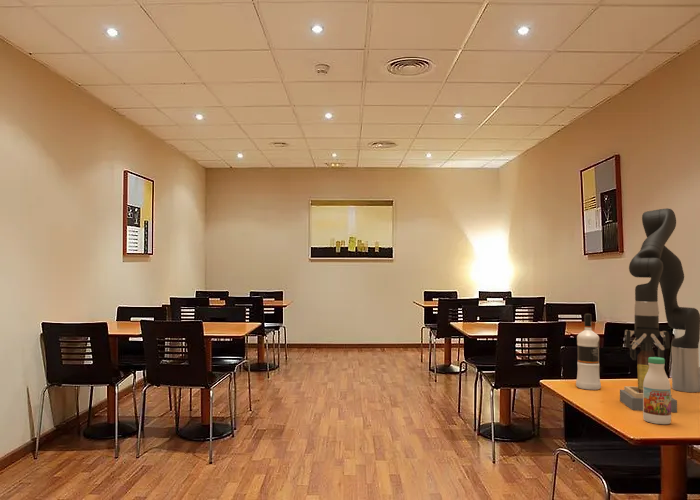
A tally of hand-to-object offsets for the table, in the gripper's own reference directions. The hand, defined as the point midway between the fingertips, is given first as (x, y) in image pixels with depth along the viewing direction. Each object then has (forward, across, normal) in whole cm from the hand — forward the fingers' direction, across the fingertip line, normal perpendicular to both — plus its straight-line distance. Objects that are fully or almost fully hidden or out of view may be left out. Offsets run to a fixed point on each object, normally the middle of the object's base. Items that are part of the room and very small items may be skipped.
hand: (646, 360), depth 193 cm
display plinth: (+16, 0, 0) cm, 16 cm away
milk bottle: (+16, +4, +21) cm, 27 cm away
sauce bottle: (+12, 0, 0) cm, 12 cm away
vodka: (+16, +13, -28) cm, 35 cm away
